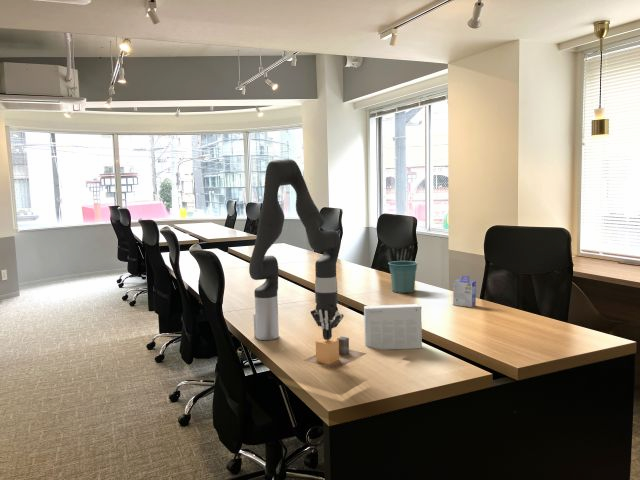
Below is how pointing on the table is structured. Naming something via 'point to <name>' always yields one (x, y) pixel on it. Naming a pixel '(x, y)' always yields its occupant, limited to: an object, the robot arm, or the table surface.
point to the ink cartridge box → (464, 292)
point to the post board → (340, 355)
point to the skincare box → (393, 326)
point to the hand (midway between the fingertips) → (327, 339)
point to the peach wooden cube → (327, 350)
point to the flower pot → (403, 276)
